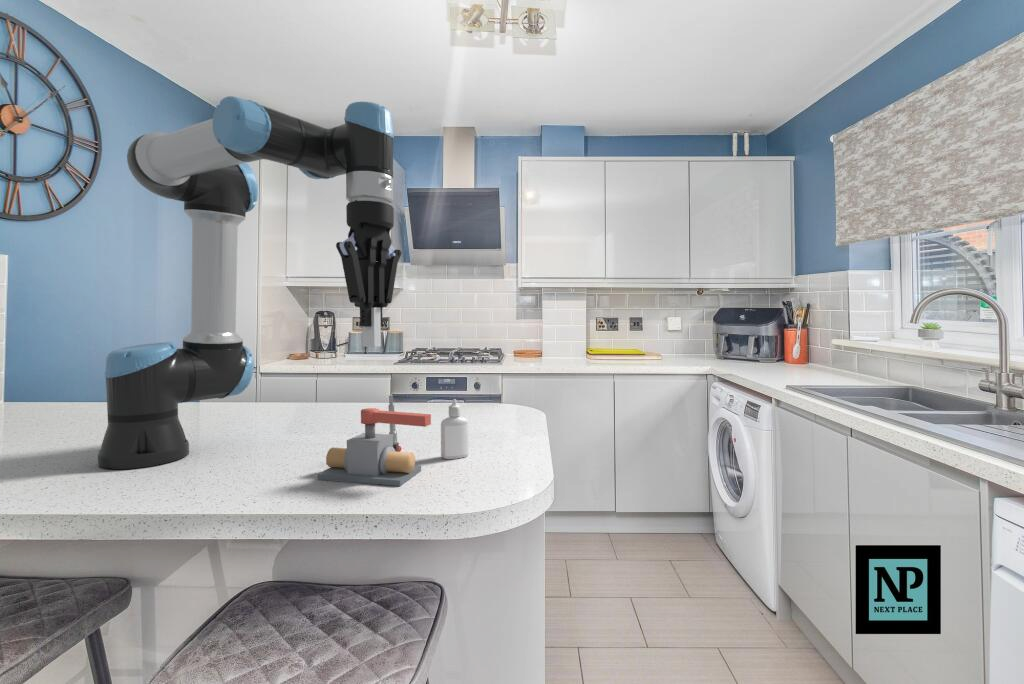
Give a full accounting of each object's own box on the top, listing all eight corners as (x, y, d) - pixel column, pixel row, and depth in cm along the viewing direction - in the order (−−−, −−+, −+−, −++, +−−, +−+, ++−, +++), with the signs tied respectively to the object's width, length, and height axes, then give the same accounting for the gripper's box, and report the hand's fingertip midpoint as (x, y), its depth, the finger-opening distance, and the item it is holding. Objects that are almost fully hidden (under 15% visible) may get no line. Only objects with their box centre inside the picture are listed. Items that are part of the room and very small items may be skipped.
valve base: (317, 479, 91) (316, 427, 91) (345, 465, 100) (344, 417, 100) (400, 486, 88) (399, 431, 87) (421, 470, 97) (420, 421, 96)
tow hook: (347, 463, 103) (392, 461, 103) (343, 399, 103) (388, 398, 102) (361, 452, 112) (403, 451, 111) (357, 393, 111) (399, 392, 111)
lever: (357, 423, 93) (357, 410, 92) (367, 420, 96) (367, 407, 95) (423, 429, 88) (423, 415, 88) (432, 425, 91) (432, 412, 91)
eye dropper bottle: (466, 460, 104) (466, 401, 103) (439, 459, 104) (438, 401, 103) (469, 454, 108) (469, 398, 108) (443, 453, 108) (443, 397, 108)
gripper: (357, 192, 77) (359, 349, 78) (413, 208, 88) (414, 345, 89) (322, 197, 80) (324, 347, 82) (380, 212, 92) (381, 343, 93)
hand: (371, 346), depth 85 cm, fingers closed
